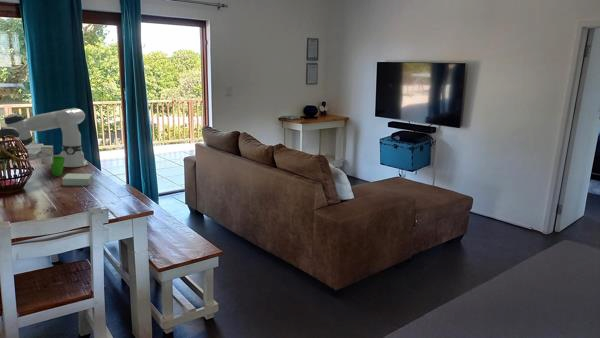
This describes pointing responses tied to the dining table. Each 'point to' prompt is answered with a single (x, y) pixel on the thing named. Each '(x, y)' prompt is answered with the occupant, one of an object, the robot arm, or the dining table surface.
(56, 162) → the cup
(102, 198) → the dining table surface
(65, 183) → the base plinth
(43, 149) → the cream block
